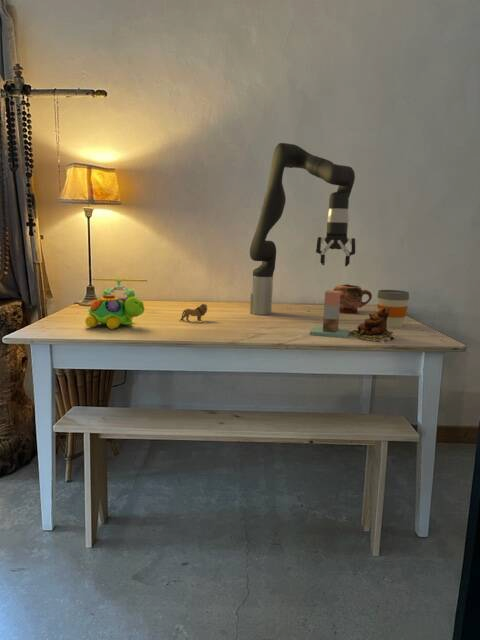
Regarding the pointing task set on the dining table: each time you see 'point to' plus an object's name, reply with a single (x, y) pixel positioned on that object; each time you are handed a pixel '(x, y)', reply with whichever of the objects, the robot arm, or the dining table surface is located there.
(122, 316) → the turtle toy
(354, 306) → the brown ceramic mug
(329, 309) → the slate brick
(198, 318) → the lion figurine
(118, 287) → the toy helicopter
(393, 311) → the reusable coffee cup
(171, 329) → the dining table surface
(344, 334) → the baseplate
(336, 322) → the walnut brick
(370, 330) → the bear figurine
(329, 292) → the red brick
